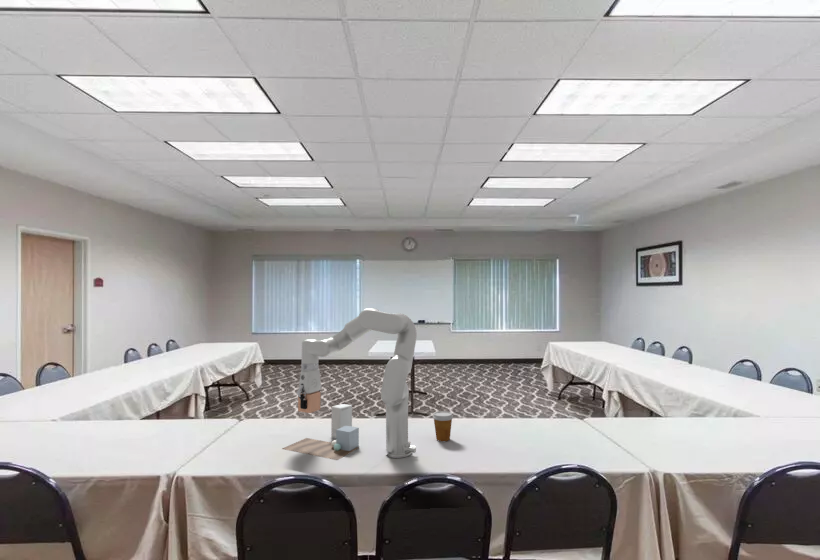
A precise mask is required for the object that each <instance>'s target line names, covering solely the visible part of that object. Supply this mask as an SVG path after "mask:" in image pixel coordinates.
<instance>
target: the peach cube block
mask: <svg viewBox="0 0 820 560" xmlns="http://www.w3.org/2000/svg"><path fill="white" fill-rule="evenodd" d="M321 393H322V391H320V392H319V391H317V392H314V393H310V394H307V398H306V400H307V409H301V408H300V404H301V400H300V398H299V397H298V396H297V412H300V413H307V414H312V413H315V412H317V411H320V410H321V398H322V397H321V396H322V395H321ZM304 395H305V394H303V396H304Z"/></svg>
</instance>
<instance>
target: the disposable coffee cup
mask: <svg viewBox="0 0 820 560" xmlns="http://www.w3.org/2000/svg"><path fill="white" fill-rule="evenodd" d="M453 417H454V415H453V414H452V412H450V411H442V410H439V411H436V412H435V411H434V412H433V415H432V418H433V421H434V422H433V423H434V431H435V438H436V439H437V440H436V441H438V440H439V442H443V441H445V442H449V441H450V440H451V439H450V438H451V430H452V422H453V421H452V420H453ZM448 440H449V441H448Z"/></svg>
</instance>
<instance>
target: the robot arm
mask: <svg viewBox="0 0 820 560" xmlns="http://www.w3.org/2000/svg"><path fill="white" fill-rule="evenodd" d="M371 331H376V332H378V333H379V332H380V333H384V334H389V335H397V338H396V342H395V347H394V353H393V356H392V358H391V359H389V360H388V362H387V364H386V366H385V369H384V374H383V379H382V384H381V387H380V388H381V389H380V398H381V400H382V402H383V404H385V440H386V441H385V444H386V445H385V450H386V452H387V454H386V455H385V457H387V458H391V459H403V458H406V457H409V456H411V454H414V453H415V454H416V453H417V447H416V446H415V445H411V441H409V397H410V396H409V394H410V390H409V385H408V383H407V378H408V375H409V374H410V373H411V370H412V368H413V366H412V365H413V360H414V354H415V348H416V342H417V327H416V325H415V323H414V321H413V320H412V319H411V318H410V317H409V316H408V315H405V314H404V313H399V312H398V313H397V312H396V313H392V312H391V313H389V312H384V311H381V310H379V309H377V308H374V307H373V308H372V307H371V308H370V307H369V308H365V309H363V310H362V311H360V313H359V315H358V316H356V317H354V318H353V319H351V320H350V321H348V322H346V323H345V325H344V327H343V328H342V329H341V330H340V331H339V332H337V333H336V334H334V335H333V336H331V337H329V338H326V339H323V340H322V339H320V340H318V339H315V338H309V339H305V340H302V342H301V365H300V366H301V367H300V368H301V369H300V374H299V384H298V385H299V386H298V387H299V388H298V390H297V391H296V395H297V398H298V397H299V398H300V400H301V404H300V408H301V409H307V400H306V398H307V394H310V393H314V392H317V391H319V392H321V389H322V388H323V385H322V384H321V383H322V382H321V381H322V379H321V372H320V368H319V357H320V358H326V357H330V356H332V355H336V354H337V353H338V352H340V351H342V350H343V349H346V347H348V346H350V345H351V344H352V343H355V342H356V341H357V340H358V339H360V338H362V337H363V336H365V335H366V334H367V333H369V332H371ZM303 394H305V395H304V396H303Z"/></svg>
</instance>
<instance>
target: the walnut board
mask: <svg viewBox="0 0 820 560" xmlns="http://www.w3.org/2000/svg"><path fill="white" fill-rule="evenodd" d="M331 443H332V441H327V440H326V441H325V440H319V439H314V438H308V437H305V438H302V439H301V440H299V441H296V442H294V443H292V444H289V445H288V446H285V447H282V448H281V450H286V451H289V452H290V451H291V452H295V453H301V454H306V455H311V456H315V457H321V458H325V459H329V460H334V461H339V460H340V459H342V458H344V457H345V456H348V455H349V454H351V453H353V452H354V451H356V450H359V449H360V447H359V446H358V447H356V448H354V449H352V450H351V451H346V450H341V449H340V450H339V451H335V450H334V447H332V445H331Z"/></svg>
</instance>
